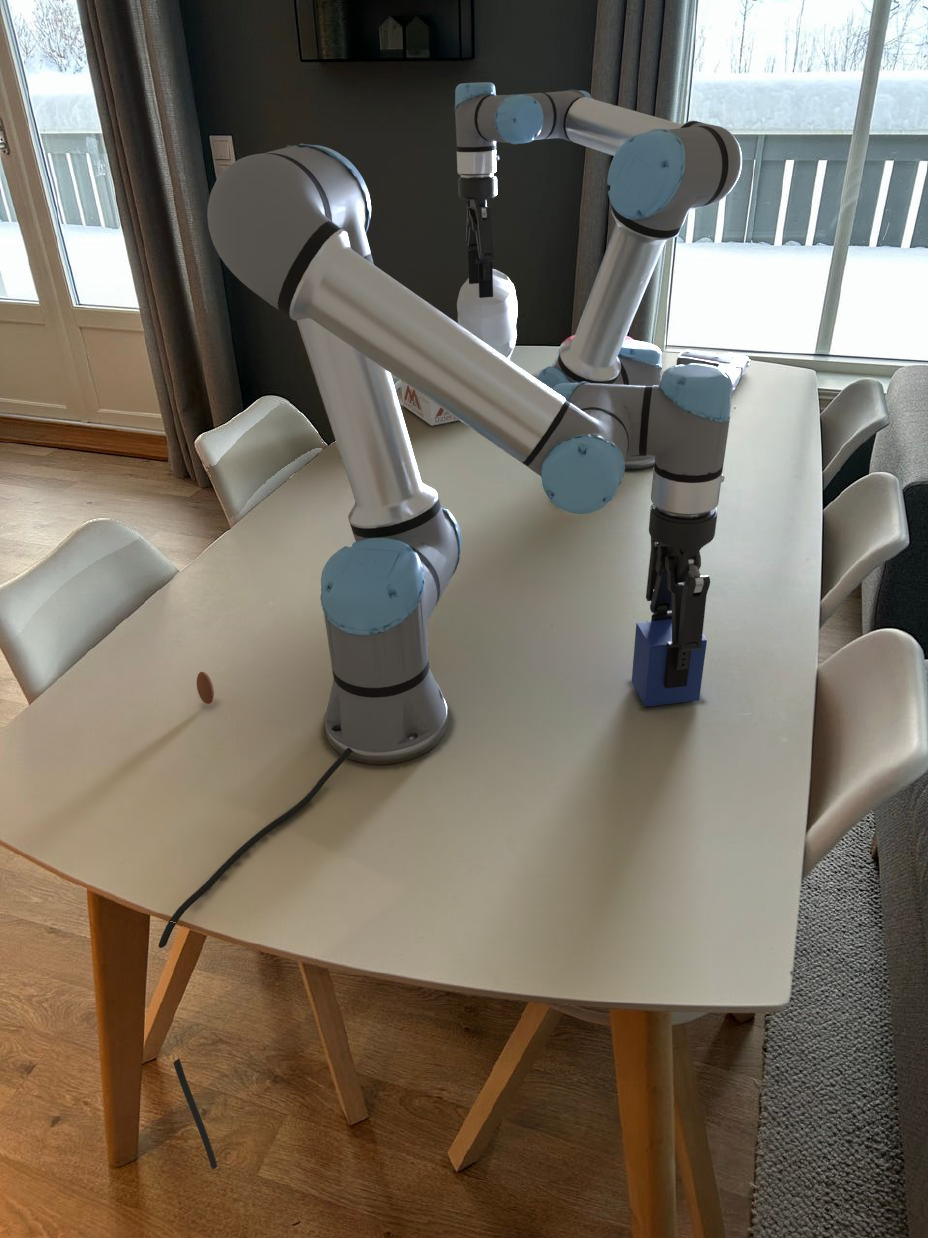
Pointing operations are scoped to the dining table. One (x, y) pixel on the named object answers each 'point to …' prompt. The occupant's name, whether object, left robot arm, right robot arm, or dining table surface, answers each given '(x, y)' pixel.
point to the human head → (490, 313)
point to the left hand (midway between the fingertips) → (666, 671)
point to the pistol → (717, 362)
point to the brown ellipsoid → (205, 687)
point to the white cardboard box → (424, 407)
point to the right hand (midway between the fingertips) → (480, 290)
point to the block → (662, 666)
